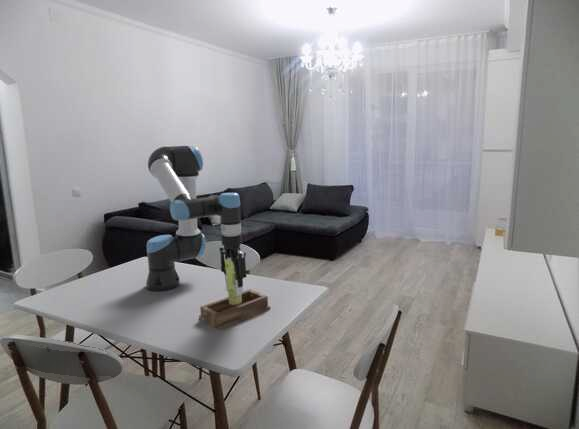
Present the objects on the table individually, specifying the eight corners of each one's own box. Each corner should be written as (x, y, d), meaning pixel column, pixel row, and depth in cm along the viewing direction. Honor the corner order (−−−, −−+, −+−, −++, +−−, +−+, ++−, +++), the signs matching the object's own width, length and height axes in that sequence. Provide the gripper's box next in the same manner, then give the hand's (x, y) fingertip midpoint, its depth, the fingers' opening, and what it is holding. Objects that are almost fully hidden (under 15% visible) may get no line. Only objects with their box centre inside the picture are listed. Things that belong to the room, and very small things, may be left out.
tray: (199, 318, 150) (198, 305, 149) (248, 299, 167) (247, 288, 166) (220, 330, 141) (219, 317, 140) (270, 309, 157) (269, 297, 156)
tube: (228, 306, 149) (225, 257, 146) (226, 301, 154) (223, 253, 151) (243, 304, 151) (240, 255, 148) (240, 299, 156) (238, 251, 152)
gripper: (209, 232, 152) (212, 289, 156) (238, 240, 139) (241, 301, 143) (225, 228, 157) (228, 283, 161) (254, 236, 144) (257, 295, 148)
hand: (234, 292), depth 152 cm, fingers closed on tube, 6 cm apart
